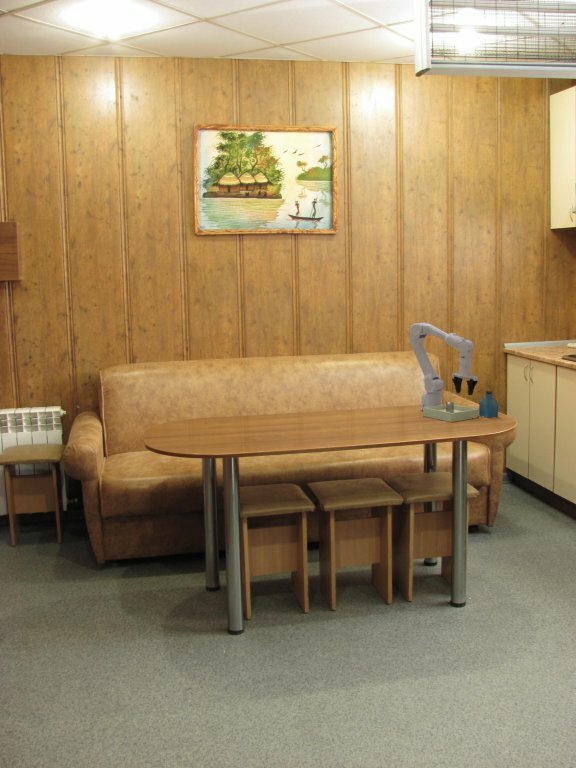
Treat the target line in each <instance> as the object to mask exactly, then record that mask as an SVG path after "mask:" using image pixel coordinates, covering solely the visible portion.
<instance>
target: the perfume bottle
mask: <svg viewBox="0 0 576 768" xmlns="http://www.w3.org/2000/svg"><path fill="white" fill-rule="evenodd" d="M493 394H494V393H493V391H492V390H485V394H484V395H485V397H482V399H481V400H480V401H479V403H478V404H479V407H478V416H479V415H480V416H479V417H482V416H484V417H483V418H486V417H487V419H488V418H489V419H491V418H499V403H498V401H497V399H496V398H494V397H493V396H494V395H493Z"/></svg>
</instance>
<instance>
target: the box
mask: <svg viewBox="0 0 576 768" xmlns="http://www.w3.org/2000/svg"><path fill="white" fill-rule="evenodd" d="M422 411H423V413H422V417H425V416H426V417H425V418H431V419H435V420H440V421H444V422H447V423H448V422H449V423H453V422H459V421H461V422H462V421H465V420H466V421H467V420H472V418H473V419H478V418H479V408H474V407H468V406H463V405H458V404H454V413H449V412H446V404H441V405H439V406H432V407H425V408H423V410H422ZM477 417H478V418H477Z"/></svg>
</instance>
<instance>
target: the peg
mask: <svg viewBox="0 0 576 768" xmlns="http://www.w3.org/2000/svg"><path fill="white" fill-rule="evenodd" d="M445 405H446V412H449V413H454V405H455V403H454V401H446V402H445Z"/></svg>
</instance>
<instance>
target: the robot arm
mask: <svg viewBox="0 0 576 768" xmlns="http://www.w3.org/2000/svg"><path fill="white" fill-rule="evenodd" d="M408 332H409V334H410V337H409V339H410V340H409V341H410V343H409V344H410V346H411V348H412V351H413V353H414V356H415V358H416V360H417V362H418V365H419V367H420V369H421V372H422V373H423V376H424V377H423V384H424V390H425V392H423V393H422V394H421V395H422V396H421V408H420V409H419V410H421V411H423V408H425V407H432V406H439V405H442V397H443V395H442V393H443V392H442V391H443V389H444V388H445V382H444V380H443V379H442V378H441V377H440V375H439V374H438V373H437V372H436V371H435V370H434V367H433V365H432V363H431V361H430V357H429V356H428V353H427V351H426V348H425V346H424V344H423V342H424V340H425V338H426V337H427V336H428V335H432V336H434V337H437V338H439V339H441V340H444V342H445V343H446V345H448V346H450V347H451V348H454V349H456V350H457V351H458V353H459V356H458V357H459V361H458V373H456V372H455V373H454V372H453V373H452V374H451V375H452V376H451V377H452V378H451V381H452V383H453V385H454V387H455V391H456V394H461V391H462V383H463V380H466V384H467V395H468V396H473V393H474V390H475V388H476V386H477V384H478V383H479V382H478V381H479V378H478V375H472V354H473V353H472V352H473V351H474V348H475V344H474V342H473V341H471V339H466V338H465V337H461V336H459V335H457V333H455V332H450V333H447V332H446V331H443V330H442V329H440V328H439V327H436V326H434V325H433V324H431V323H428V322H426V321H425V322H424V321H423V322H418V323H417V322H415V323H413V324H412V325H411V326H410V328H409V331H408Z"/></svg>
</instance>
